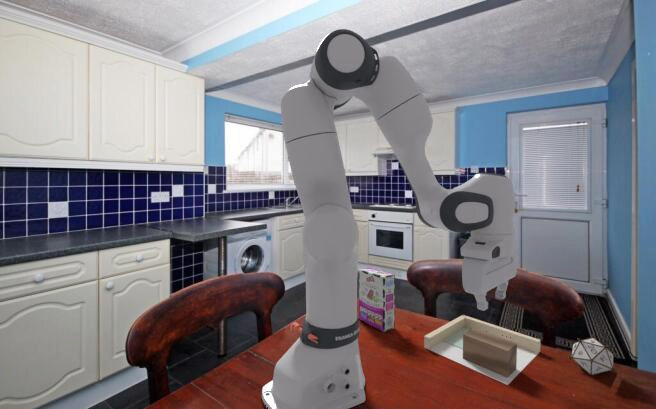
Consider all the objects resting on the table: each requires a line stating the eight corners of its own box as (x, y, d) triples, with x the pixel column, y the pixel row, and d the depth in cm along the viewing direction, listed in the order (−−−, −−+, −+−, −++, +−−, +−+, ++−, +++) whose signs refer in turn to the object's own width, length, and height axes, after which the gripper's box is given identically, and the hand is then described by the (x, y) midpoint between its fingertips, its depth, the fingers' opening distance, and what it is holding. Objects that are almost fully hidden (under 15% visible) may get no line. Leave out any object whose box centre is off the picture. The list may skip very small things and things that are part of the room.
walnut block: (507, 377, 68) (508, 351, 68) (462, 358, 76) (463, 334, 75) (516, 369, 71) (517, 343, 71) (472, 351, 79) (473, 328, 79)
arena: (507, 388, 66) (508, 371, 66) (424, 350, 81) (424, 336, 81) (540, 354, 79) (540, 339, 78) (462, 327, 94) (462, 314, 94)
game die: (602, 393, 70) (638, 374, 63) (562, 376, 71) (593, 355, 65) (590, 356, 77) (622, 335, 70) (554, 341, 78) (582, 319, 72)
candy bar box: (395, 328, 94) (396, 274, 93) (384, 333, 91) (384, 277, 90) (369, 315, 103) (369, 266, 102) (358, 319, 100) (357, 269, 99)
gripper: (496, 236, 81) (496, 289, 82) (456, 249, 68) (456, 312, 69) (524, 239, 76) (523, 295, 77) (486, 253, 63) (486, 321, 64)
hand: (491, 303), depth 73 cm, fingers open, 8 cm apart
